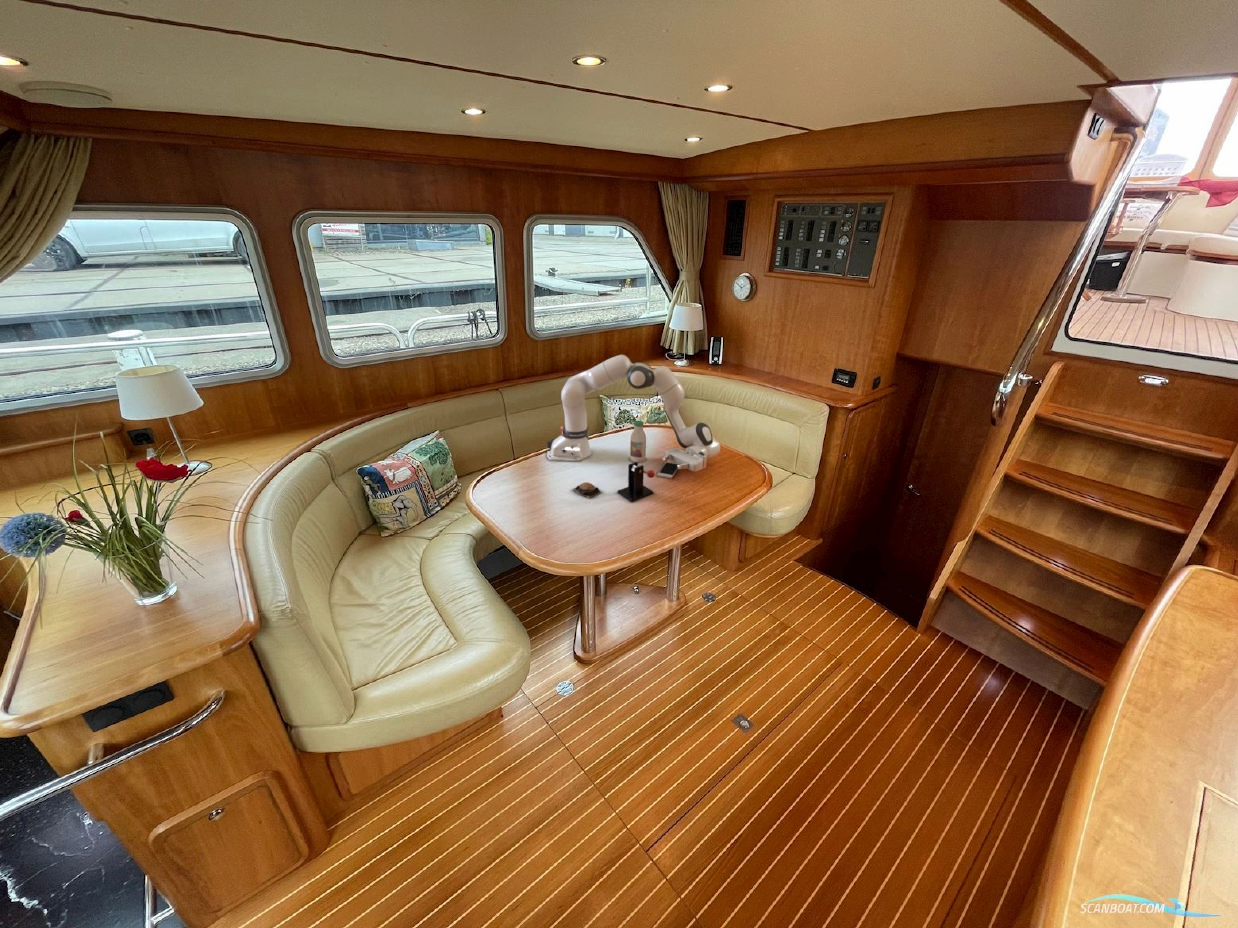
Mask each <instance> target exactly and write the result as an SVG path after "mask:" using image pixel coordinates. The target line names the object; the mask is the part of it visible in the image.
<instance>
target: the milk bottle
mask: <svg viewBox="0 0 1238 928" xmlns="http://www.w3.org/2000/svg"><path fill="white" fill-rule="evenodd" d="M629 447H630V449H629V452H630V453H629V455H630V456H629V459H630V461H631V462H633V463H634V462H638V463H642V462H645V460H646V456H647V436H646V434H645V430H644V421H642V420H634V422H633V430H632V433H631V435H630V446H629Z"/></svg>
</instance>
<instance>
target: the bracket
mask: <svg viewBox="0 0 1238 928" xmlns="http://www.w3.org/2000/svg"><path fill="white" fill-rule="evenodd" d="M633 465H636V466H638V467H635V468H634V471H632V470H631V469H632V467H633ZM627 466H628V468H627V469H628V471H627V472H628V473H627V474H628V475H627V484H628V485H627V487H624V488H622V489H618V490H617V493H618V494H619V495H620V496H622V497H623V498H624V499H626V500H627V501H629V502H630V503H634V502H636V501H640V500H641V499H644V498H647V497H649V496H651V495H654V491H653V490H652V489H650V488H649V487H647V486H646V485H644V474H645V473H644V470H645V468H644V467H645V465H643V464H642V465H639V462H634V461H633V462H631V463H628V465H627Z"/></svg>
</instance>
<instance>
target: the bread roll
mask: <svg viewBox="0 0 1238 928" xmlns="http://www.w3.org/2000/svg"><path fill="white" fill-rule="evenodd" d="M572 490H573V492H575V493H577V494H578V495H581V496H583V497H586V498H587V499H591V498H594V497H595V496H598V495H599V494H601V492H602V491H601V490H600V488H599V487H597V486H595V485H594V484H593V483H590V482H582V483H580V484H579V485H576V487H575V488H573V489H572Z"/></svg>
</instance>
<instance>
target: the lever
mask: <svg viewBox="0 0 1238 928" xmlns="http://www.w3.org/2000/svg"><path fill="white" fill-rule="evenodd" d="M638 466H639V465H638ZM638 466H636V465H633V467H632V469H631V470H632V471H634V468H635V467H638ZM644 474H645V475H646V476H647V477H648V478H649V479H653V478H654V477H655V476H656V472H655V471H654V470H653V469H649V470H645V469H644Z"/></svg>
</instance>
